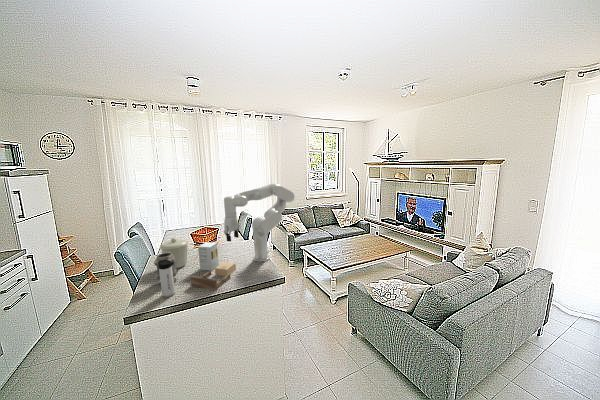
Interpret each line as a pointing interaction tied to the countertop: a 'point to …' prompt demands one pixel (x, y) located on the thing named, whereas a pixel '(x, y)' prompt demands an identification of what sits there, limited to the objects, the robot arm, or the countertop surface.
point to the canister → (176, 250)
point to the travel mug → (166, 278)
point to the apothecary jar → (166, 257)
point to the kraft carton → (225, 269)
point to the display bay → (207, 281)
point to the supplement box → (208, 256)
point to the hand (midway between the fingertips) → (232, 239)
